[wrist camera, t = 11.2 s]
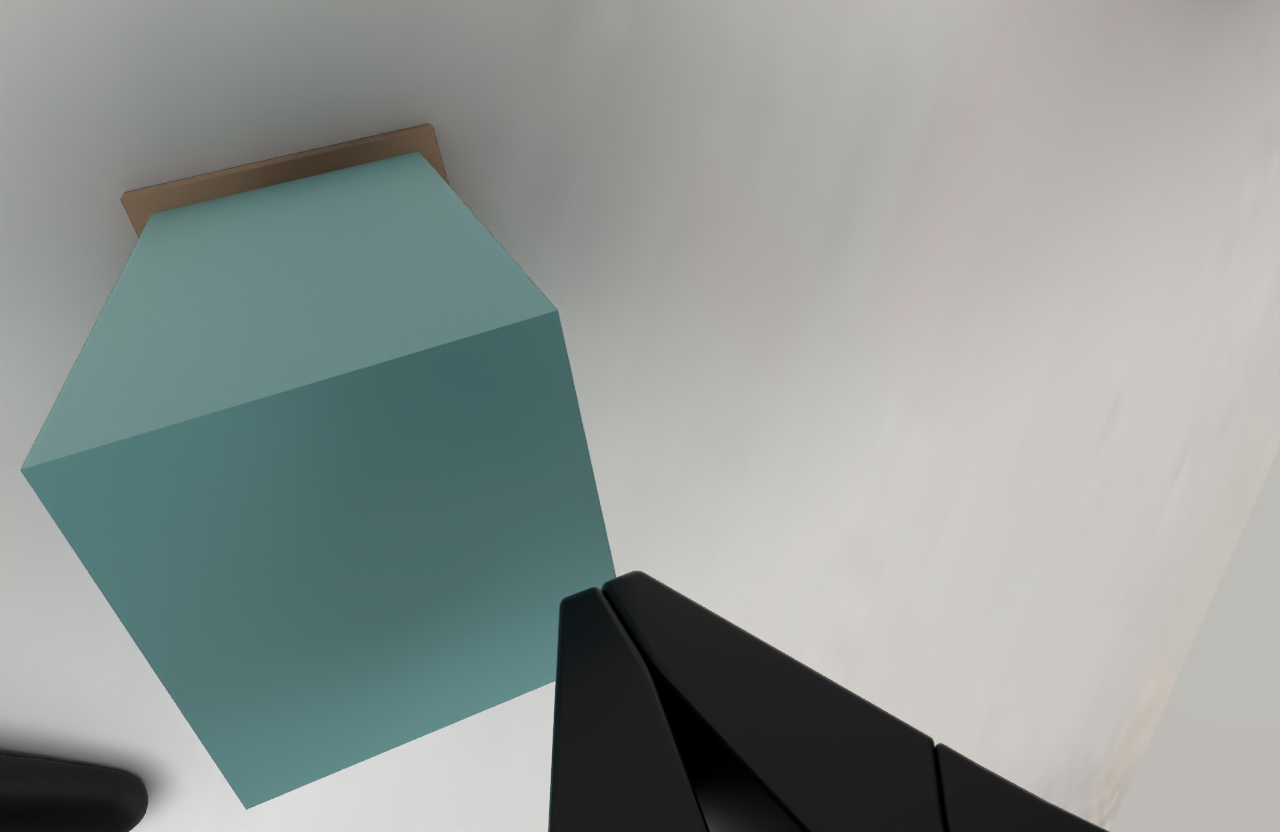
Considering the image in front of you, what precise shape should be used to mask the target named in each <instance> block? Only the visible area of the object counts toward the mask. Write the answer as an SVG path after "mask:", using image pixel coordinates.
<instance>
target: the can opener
mask: <svg viewBox="0 0 1280 832" xmlns="http://www.w3.org/2000/svg"><path fill="white" fill-rule="evenodd" d="M147 805H148V795H147V791H146V789H145V787H144V785H143V784H142V782H141V781H140V780H139V779H137V778H135V777H134V776H132V775H130V774H127V773H125V772H121V771H116V770H112V769H107V768H100V767H94V766H86V765H79V764H74V763H66V762H56V761H51V760H45V759H36V758H22V757H14V756H4V755H0V832H129V831H130V830H132V829H133V828H134V827H135V826H136V825H137V824H138V823H139V822H140V821H141V820H142V818H143V817H144V815H145V813H146V810H147Z"/></svg>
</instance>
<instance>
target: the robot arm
mask: <svg viewBox="0 0 1280 832" xmlns="http://www.w3.org/2000/svg"><path fill="white" fill-rule="evenodd" d="M548 832H1109V831H1107V830H1105V829H1103V828H1101V827H1099V826H1097V825H1094V824H1092V823H1090V822H1088V821H1086V820H1084V819H1082V818H1080V817H1078V816H1076V815H1074V814H1072V813H1070V812H1068V811H1066V810H1064V809H1061V808H1059V807H1057V806H1055V805H1053V804H1051V803H1049V802H1047V801H1045V800H1043V799H1041V798H1040V797H1038V796H1036V795H1034V794H1032V793H1030V792H1029V791H1027V790H1025V789H1023V788H1021V787H1019V786H1017V785H1016V784H1014V783H1012V782H1010V781H1008V780H1006V779H1005V778H1003V777H1001V776H999V775H997V774H995V773H993V772H992V771H990V770H988V769H986V768H984V767H982V766H981V765H979V764H977V763H975V762H974V761H972V760H970V759H968V758H967V757H965V756H963V755H961V754H960V753H958V752H956V751H954V750H953V749H951V748H949V747H948V746H946V745H944V744H942V743H939V744H937V745H936V746H935V745H934V741H933V739H932V738H931V737H930V736H928V735H926V734H924V733H923V732H921V731H919V730H917V729H916V728H914V727H912V726H910V725H909V724H907V723H905V722H903V721H902V720H900V719H898V718H896V717H895V716H893V715H891V714H889V713H888V712H886V711H884V710H882V709H881V708H879V707H877V706H875V705H874V704H872V703H870V702H869V701H867V700H865V699H863V698H862V697H860V696H858V695H856V694H855V693H853V692H851V691H849V690H848V689H846V688H844V687H842V686H841V685H839V684H837V683H835V682H834V681H832V680H830V679H828V678H827V677H825V676H823V675H821V674H820V673H818V672H816V671H815V670H813V669H811V668H809V667H808V666H806V665H804V664H802V663H801V662H799V661H797V660H795V659H794V658H792V657H790V656H788V655H787V654H785V653H783V652H781V651H780V650H778V649H776V648H774V647H773V646H771V645H769V644H767V643H766V642H764V641H762V640H760V639H759V638H757V637H755V636H754V635H752V634H750V633H748V632H747V631H745V630H743V629H741V628H740V627H738V626H736V625H734V624H733V623H731V622H729V621H727V620H726V619H724V618H722V617H720V616H719V615H717V614H715V613H713V612H712V611H710V610H708V609H706V608H705V607H703V606H701V605H699V604H698V603H696V602H694V601H693V600H691V599H689V598H687V597H686V596H684V595H682V594H680V593H679V592H677V591H675V590H673V589H672V588H670V587H668V586H666V585H665V584H663V583H661V582H659V581H658V580H656V579H654V578H652V577H651V576H649V575H647V574H645V573H644V572H641V571H632V572H630V573H627V574H625V575H622V576H619V577H617V578H614V579H612V580H609V581H607V582H605V583H604V584H603V586H602V589H600V588H598V587H591V588H588V589H586V590H583V591H581V592H578V593H575V594H573V595H570V596H568V597H565V598H563V599H562V601H561V603H560V606H559V624H558V645H557V665H556V685H555V705H554V726H553V746H552V766H551V786H550V807H549V827H548Z"/></svg>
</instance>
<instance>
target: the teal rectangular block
mask: <svg viewBox="0 0 1280 832" xmlns="http://www.w3.org/2000/svg"><path fill="white" fill-rule="evenodd" d="M21 471H22V473H23V474H24V476H25V478H26V479H27V481H28V482H29V484H30V485H31V487H32V488H33V490H34V491H35V493H36V494H37V496H38V497H39V499H40V500H41V502H42V503H43V505H44V506H45V508H46V509H47V511H48V512H49V514H50V515H51V517H52V518H53V520H54V521H55V523H56V524H57V526H58V527H59V529H60V530H61V532H62V533H63V535H64V536H65V538H66V539H67V541H68V542H69V544H70V545H71V547H72V548H73V550H74V551H75V553H76V554H77V556H78V557H79V559H80V560H81V562H82V563H83V565H84V566H85V568H86V569H87V571H88V572H89V574H90V575H91V577H92V578H93V580H94V581H95V583H96V584H97V586H98V587H99V589H100V590H101V592H102V593H103V595H104V596H105V598H106V599H107V601H108V602H109V604H110V605H111V607H112V608H113V610H114V611H115V613H116V614H117V616H118V617H119V619H120V620H121V622H122V623H123V625H124V626H125V628H126V629H127V631H128V632H129V634H130V635H131V637H132V638H133V640H134V641H135V643H136V644H137V646H138V647H139V649H140V650H141V652H142V653H143V655H144V656H145V658H146V659H147V661H148V663H149V664H150V666H151V667H152V669H153V670H154V672H155V673H156V675H157V676H158V678H159V679H160V681H161V682H162V684H163V685H164V687H165V688H166V690H167V691H168V693H169V694H170V696H171V697H172V699H173V700H174V702H175V703H176V705H177V706H178V708H179V709H180V711H181V712H182V714H183V715H184V717H185V718H186V720H187V721H188V723H189V724H190V726H191V727H192V729H193V730H194V732H195V733H196V735H197V736H198V738H199V739H200V741H201V742H202V744H203V745H204V747H205V748H206V750H207V751H208V753H209V754H210V756H211V757H212V759H213V760H214V762H215V763H216V765H217V766H218V768H219V769H220V771H221V772H222V774H223V775H224V777H225V778H226V780H227V781H228V783H229V784H230V786H231V787H232V789H233V790H234V792H235V793H236V795H237V796H238V798H239V799H240V801H241V802H242V804H243V805H244V807H245V808H246V809H249V808H251V807H254V806H256V805H258V804H261V803H263V802H266V801H268V800H270V799H273V798H275V797H278V796H280V795H282V794H285V793H287V792H290V791H292V790H294V789H297V788H299V787H302V786H304V785H306V784H309V783H311V782H314V781H316V780H318V779H321V778H323V777H326V776H328V775H330V774H333V773H335V772H338V771H340V770H342V769H345V768H347V767H350V766H352V765H354V764H357V763H359V762H362V761H364V760H366V759H369V758H371V757H374V756H376V755H378V754H381V753H383V752H386V751H388V750H390V749H393V748H395V747H398V746H400V745H402V744H405V743H407V742H410V741H412V740H414V739H417V738H419V737H422V736H424V735H426V734H429V733H431V732H434V731H436V730H438V729H441V728H443V727H446V726H448V725H450V724H453V723H455V722H458V721H460V720H462V719H465V718H467V717H470V716H472V715H474V714H477V713H479V712H482V711H484V710H486V709H489V708H491V707H494V706H496V705H498V704H501V703H503V702H506V701H508V700H510V699H513V698H515V697H518V696H520V695H522V694H525V693H527V692H530V691H532V690H534V689H537V688H539V687H542V686H544V685H546V684H549V683H551V682H554V681H556V665H557V645H558V624H559V606H560V603H561V601H562V599H563V598H565V597H568V596H570V595H573V594H575V593H578V592H581V591H583V590H586V589H588V588H591V587H598V588H600V589H602V586H603V584H604V583H605V582H607V581H609V580H612V579H614V578H616V574H615V570H614V565H613V560H612V556H611V551H610V547H609V542H608V538H607V533H606V528H605V524H604V519H603V515H602V510H601V506H600V501H599V497H598V492H597V487H596V483H595V478H594V474H593V469H592V465H591V460H590V455H589V451H588V446H587V442H586V437H585V433H584V428H583V423H582V419H581V414H580V410H579V405H578V401H577V396H576V391H575V387H574V382H573V378H572V373H571V369H570V364H569V359H568V355H567V350H566V346H565V341H564V337H563V332H562V327H561V323H560V318H559V314H558V310H557V309H556V308H555V307H554V305H553V304H552V303H551V302H550V301H549V300H548V298H547V297H546V296H545V295H544V294H543V293H542V292H541V290H540V289H539V288H538V287H537V286H536V285H535V284H534V282H533V281H532V280H531V279H530V278H529V277H528V276H527V274H526V273H525V272H524V271H523V270H522V269H521V268H520V266H519V265H518V264H517V263H516V262H515V261H514V260H513V258H512V257H511V256H510V255H509V254H508V253H507V252H506V250H505V249H504V248H503V247H502V246H501V245H500V244H499V242H498V241H497V240H496V239H495V238H494V237H493V235H492V234H491V233H490V232H489V231H488V230H487V229H486V227H485V226H484V225H483V224H482V223H481V222H480V221H479V219H478V218H477V217H476V216H475V215H474V214H473V213H472V211H471V210H470V209H469V208H468V207H467V206H466V205H465V203H464V202H463V201H462V200H461V199H460V198H459V197H458V195H457V194H456V193H455V192H454V191H453V190H452V189H451V187H450V186H449V185H448V184H447V183H446V182H445V181H444V179H443V178H442V177H441V176H440V175H439V174H438V173H437V171H436V170H435V169H434V168H433V167H432V166H431V164H430V163H429V162H428V161H427V160H426V159H425V158H424V156H423V155H422V154H421V153H420V152H419V151H417V152H413V153H408V154H404V155H400V156H396V157H391V158H387V159H383V160H379V161H374V162H370V163H366V164H361V165H357V166H353V167H349V168H344V169H340V170H336V171H332V172H327V173H323V174H319V175H315V176H310V177H306V178H302V179H298V180H293V181H289V182H285V183H281V184H276V185H272V186H268V187H264V188H259V189H255V190H251V191H247V192H242V193H238V194H234V195H230V196H225V197H221V198H217V199H213V200H208V201H204V202H200V203H196V204H191V205H187V206H183V207H179V208H174V209H170V210H166V211H162V212H157V213H153V214H151V216H150V218H149V220H148V222H147V224H146V226H145V228H144V230H143V231H142V233H141V235H140V237H139V239H138V241H137V243H136V245H135V247H134V249H133V251H132V253H131V255H130V257H129V259H128V261H127V263H126V265H125V267H124V269H123V271H122V272H121V274H120V276H119V278H118V280H117V282H116V284H115V286H114V288H113V290H112V292H111V294H110V296H109V298H108V300H107V302H106V304H105V306H104V308H103V310H102V312H101V313H100V315H99V317H98V319H97V321H96V323H95V325H94V327H93V329H92V331H91V333H90V335H89V337H88V339H87V341H86V343H85V345H84V347H83V349H82V351H81V352H80V354H79V356H78V358H77V360H76V362H75V364H74V366H73V368H72V370H71V372H70V374H69V376H68V378H67V380H66V382H65V384H64V386H63V388H62V390H61V392H60V393H59V395H58V397H57V399H56V401H55V403H54V405H53V407H52V409H51V411H50V413H49V415H48V417H47V419H46V421H45V423H44V425H43V427H42V429H41V431H40V433H39V434H38V436H37V438H36V440H35V442H34V444H33V446H32V448H31V450H30V452H29V454H28V456H27V458H26V460H25V462H24V464H23V466H22V468H21Z"/></svg>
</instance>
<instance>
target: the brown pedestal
mask: <svg viewBox="0 0 1280 832" xmlns="http://www.w3.org/2000/svg"><path fill="white" fill-rule="evenodd" d="M417 151H419V152H420V153H421V154H422V155H423V156H424V158H425V159H426V160H427V161H428V162H429V163H430V164H431V166H432V167H433V168H434V169H435V170H436V171H437V173H438V174H439V175H440V176H441V177H442V178H443V179H444V181H445V182H446V183H447V184H448V181H447V177H446V173H445V170H444V166H443V162H442V158H441V155H440V151H439V147H438V144H437V140H436V136H435V133H434V129H433V127H432V126H431V125H430V124H424V125H420V126H415V127H411V128H407V129H402V130H398V131H393V132H389V133H385V134H380V135H376V136H371V137H367V138H362V139H358V140H354V141H349V142H345V143H340V144H336V145H332V146H327V147H323V148H318V149H314V150H310V151H305V152H301V153H296V154H292V155H288V156H283V157H279V158H274V159H270V160H266V161H261V162H257V163H252V164H248V165H244V166H239V167H235V168H230V169H226V170H222V171H217V172H213V173H208V174H204V175H200V176H195V177H191V178H186V179H182V180H178V181H173V182H169V183H164V184H160V185H156V186H151V187H147V188H142V189H138V190H134V191H129V192H125V193H124V195H123V196H122V198H121V199H120V200H121V202H122V204H123V206H124V208H125V210H126V212H127V214H128V216H129V218H130V220H131V222H132V224H133V226H134V229H135V231H136V233H137V235H138V237H140V235H141V233H142V231H143V230H144V228H145V226H146V224H147V222H148V220H149V218H150V216H151V214H153V213H157V212H162V211H166V210H170V209H174V208H179V207H183V206H187V205H191V204H196V203H200V202H204V201H208V200H213V199H217V198H221V197H225V196H230V195H234V194H238V193H242V192H247V191H251V190H255V189H259V188H264V187H268V186H272V185H276V184H281V183H285V182H289V181H293V180H298V179H302V178H306V177H310V176H315V175H319V174H323V173H327V172H332V171H336V170H340V169H344V168H349V167H353V166H357V165H361V164H366V163H370V162H374V161H379V160H383V159H387V158H391V157H396V156H400V155H404V154H408V153H413V152H417ZM448 185H449V184H448Z"/></svg>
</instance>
